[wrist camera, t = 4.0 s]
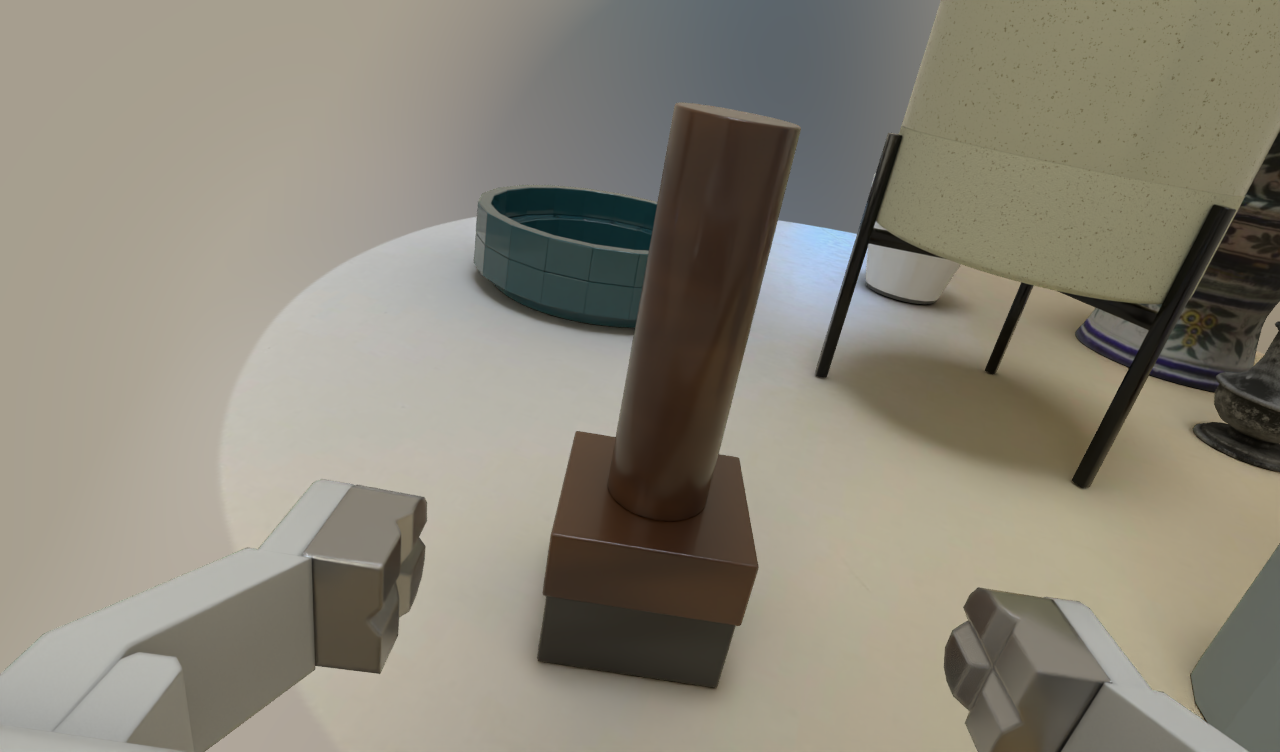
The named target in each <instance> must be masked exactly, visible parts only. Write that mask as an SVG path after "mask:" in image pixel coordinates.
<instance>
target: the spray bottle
mask: <svg viewBox="0 0 1280 752" xmlns="http://www.w3.org/2000/svg"><path fill="white" fill-rule="evenodd" d="M1191 679H1192V685H1193V691H1194V697H1195V702H1196V704H1197V706H1198V707H1199V709H1200V711H1201V712H1202V714H1203V716H1204V717H1205V719H1206V721H1207V722H1208V724H1210V725H1211V726H1213V727H1214V728H1216V729H1217V730H1219V731H1220V732H1221V733H1223V734H1224V735H1226V736H1227V737H1229V738H1230V739H1232V740H1233V741H1234V742H1236V743H1237V744H1239V745H1240V746H1242V747H1243V748H1244V749H1246V750H1247V751H1249V752H1280V544H1279V545H1278V547H1277V548H1276V550H1275V551H1274V553H1273V554H1272V556H1271V557H1270V558H1269V560H1268V561H1267V563H1266V564H1265V566H1264V567H1263V569H1262V570H1261V571H1260V573H1259V574H1258V576H1257V577H1256V579H1255V580H1254V582H1253V583H1252V584H1251V586H1250V587H1249V589H1248V590H1247V592H1246V593H1245V595H1244V596H1243V597H1242V599H1241V600H1240V602H1239V603H1238V605H1237V606H1236V608H1235V609H1234V610H1233V612H1232V613H1231V615H1230V616H1229V618H1228V619H1227V621H1226V622H1225V623H1224V625H1223V626H1222V628H1221V629H1220V631H1219V632H1218V634H1217V635H1216V636H1215V638H1214V639H1213V641H1212V642H1211V644H1210V645H1209V647H1208V648H1207V649H1206V651H1205V652H1204V654H1203V655H1202V657H1201V658H1200V660H1199V661H1198V663H1197V665H1196V666H1195V668H1194V670H1193V671H1192V673H1191Z"/></svg>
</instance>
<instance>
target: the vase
mask: <svg viewBox="0 0 1280 752" xmlns="http://www.w3.org/2000/svg"><path fill="white" fill-rule="evenodd" d="M1279 301H1280V132H1279V134H1278V135H1277V137H1276V139H1275V141H1274V143H1273V145H1272V147H1271V149H1270V151H1269V152H1268V154H1267V156H1266V158H1265V160H1264V162H1263V164H1262V166H1261V167H1260V169H1259V171H1258V173H1257V175H1256V177H1255V179H1254V181H1253V183H1252V184H1251V186H1250V188H1249V190H1248V192H1247V194H1246V196H1245V198H1244V199H1243V201H1242V203H1241V205H1240V207H1239V209H1238V211H1237V213H1236V215H1235V216H1234V218H1233V220H1232V222H1231V224H1230V226H1229V228H1228V230H1227V232H1226V233H1225V235H1224V237H1223V239H1222V241H1221V243H1220V245H1219V247H1218V249H1217V250H1216V252H1215V254H1214V256H1213V258H1212V260H1211V262H1210V264H1209V266H1208V267H1207V269H1206V271H1205V273H1204V275H1203V277H1202V279H1201V281H1200V282H1199V284H1198V286H1197V288H1196V290H1195V292H1194V294H1193V295H1192V297H1191V298H1190V299H1189V301H1188V302H1187V304H1186V306H1185V308H1184V310H1183V312H1182V314H1181V316H1180V318H1179V319H1178V321H1177V323H1176V325H1175V327H1174V329H1173V331H1172V333H1171V335H1170V336H1169V338H1168V340H1167V342H1166V344H1165V346H1164V348H1163V350H1162V352H1161V353H1160V355H1159V357H1158V359H1157V361H1156V363H1155V365H1154V367H1153V369H1152V370H1151V372H1150V374H1149V375H1152V376H1155V377H1158V378H1161V379H1164V380H1168V381H1171V382H1174V383H1178V384H1182V385H1186V386H1190V387H1194V388H1198V389H1203V390H1207V391H1212V392H1215V391H1216V389H1217V387H1218V385H1219V383H1218V382H1217V379H1216V376H1217V375H1218V374H1219V373H1223V372H1231V373H1241V372H1244V371H1248V370H1250V369H1251V368H1252V367H1253V365H1254V360H1255V354H1256V348H1257V345H1258V341H1259V337H1260V333H1261V329H1262V326H1263V324H1264V322H1265V320H1266V318H1267V316H1268V315H1269V313H1270V312H1271V311H1272V310H1273V308H1274V307H1275V305H1277V304H1278V302H1279ZM1138 304H1139V303H1138ZM1140 305H1143V306H1145V307H1148V308H1150V309H1153V310H1155V311H1159V309H1160V307H1161V305H1162V304H1140ZM1148 331H1149V330H1147V329H1144V328H1142V327H1140V326H1137V325H1135V324H1133V323H1130V322H1128V321H1126V320H1123V319H1121V318H1119V317H1116V316H1114V315H1112V314H1109V313H1107V312H1105V311H1102V310H1100V309H1098V308H1095V310H1094V311H1093V312H1092V313H1091V315H1090V316H1089V317H1088V318H1087V320H1086V321H1085V322H1084V323H1083V324H1082V325H1081V326H1080V327H1079V328H1078V330H1077V331H1076V332H1075V335H1076V337H1077V338H1078V339H1079V341H1080V342H1082V343H1083V344H1084V345H1086V346H1087V347H1089V348H1091V349H1092V350H1094V351H1096V352H1098V353H1100V354H1102V355H1103V356H1105V357H1108V358H1110V359H1112V360H1114V361H1116V362H1118V363H1121V364H1123V365H1125V366H1128V367H1130V366H1131V364H1132V362H1133V360H1134V358H1135V356H1136V354H1137V352H1138V350H1139V348H1140V346H1141V344H1142V342H1143V340H1144V339H1145V337H1146V335H1147V333H1148Z"/></svg>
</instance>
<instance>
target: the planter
mask: <svg viewBox="0 0 1280 752" xmlns="http://www.w3.org/2000/svg"><path fill="white" fill-rule="evenodd" d="M1279 132H1280V0H941V1H940V5H939V8H938V11H937V14H936V18H935V21H934V24H933V27H932V31H931V34H930V37H929V40H928V43H927V47H926V49H925V53H924V56H923V59H922V62H921V65H920V69H919V72H918V75H917V78H916V82H915V85H914V88H913V91H912V94H911V97H910V101H909V104H908V107H907V110H906V114H905V117H904V120H903V123H902V126H901V129H900V133H899V134H892V133H888V135H887V139H886V142H885V145H884V148H883V151H882V155H881V158H880V162H879V165H878V168H877V171H876V174H875V178H874V181H873V184H872V187H871V191H870V194H869V197H868V201H867V204H866V207H865V211H864V214H863V217H862V220H861V223H860V227H859V230H858V233H857V237H856V240H855V243H854V246H853V250H852V253H851V256H850V259H849V263H848V266H847V269H846V272H845V276H844V279H843V282H842V286H841V289H840V292H839V295H838V299H837V302H836V305H835V308H834V312H833V315H832V318H831V322H830V325H829V328H828V331H827V335H826V338H825V341H824V344H823V348H822V351H821V354H820V358H819V361H818V364H817V367H816V371H815V373H816V376H820V377H827V375H828V372H829V368H830V365H831V362H832V359H833V356H834V352H835V349H836V346H837V343H838V340H839V337H840V333H841V330H842V327H843V324H844V321H845V318H846V314H847V311H848V308H849V305H850V302H851V298H852V295H853V292H854V289H855V286H856V283H857V279H858V276H859V273H860V270H861V267H862V263H863V260H864V257H865V254H866V251H867V248H868V244H873V245H878V246H883V247H888V248H893V249H898V250H903V251H908V252H913V253H918V254H923V255H928V256H933V257H938V258H943V259H948V260H950V261H953V262H956V263H959V264H962V265H965V266H968V267H971V268H974V269H977V270H980V271H984V272H987V273H990V274H994V275H997V276H1000V277H1004V278H1007V279H1011V280H1015V281H1019V282H1021V285H1020V287H1019V289H1018V292H1017V294H1016V297H1015V299H1014V301H1013V304H1012V306H1011V309H1010V311H1009V313H1008V316H1007V318H1006V321H1005V323H1004V325H1003V328H1002V330H1001V332H1000V335H999V337H998V340H997V342H996V344H995V347H994V349H993V352H992V354H991V356H990V359H989V361H988V364H987V366H986V368H985V371H987V372H989V373H992V374H995V373H996V372H997V370H998V368H999V365H1000V363H1001V361H1002V358H1003V356H1004V354H1005V351H1006V349H1007V347H1008V344H1009V342H1010V340H1011V337H1012V335H1013V332H1014V330H1015V328H1016V325H1017V323H1018V321H1019V318H1020V316H1021V314H1022V311H1023V309H1024V307H1025V304H1026V302H1027V300H1028V297H1029V295H1030V293H1031V290H1032V288H1033V286H1038V287H1043V288H1047V289H1051V290H1056V291H1058V292H1060V293H1063V294H1065V295H1067V296H1070V297H1072V298H1074V299H1077V300H1079V301H1081V302H1084V303H1086V304H1088V305H1091V306H1093V307H1095V308H1098V309H1100V310H1102V311H1105V312H1107V313H1109V314H1112V315H1114V316H1116V317H1119V318H1121V319H1123V320H1126V321H1128V322H1130V323H1133V324H1135V325H1137V326H1140V327H1142V328H1144V329H1147V330H1149V331H1148V333H1147V335H1146V337H1145V339H1144V340H1143V342H1142V344H1141V346H1140V348H1139V350H1138V352H1137V354H1136V356H1135V358H1134V360H1133V362H1132V364H1131V366H1130V368H1129V370H1128V372H1127V374H1126V375H1125V377H1124V379H1123V381H1122V383H1121V385H1120V387H1119V389H1118V391H1117V393H1116V395H1115V397H1114V399H1113V401H1112V403H1111V405H1110V407H1109V409H1108V410H1107V412H1106V414H1105V416H1104V418H1103V420H1102V422H1101V424H1100V426H1099V428H1098V430H1097V432H1096V434H1095V436H1094V438H1093V440H1092V442H1091V444H1090V445H1089V447H1088V449H1087V451H1086V453H1085V455H1084V457H1083V459H1082V461H1081V463H1080V465H1079V467H1078V469H1077V471H1076V473H1075V475H1074V477H1073V478H1072V481H1073V482H1074V483H1076V484H1077V485H1078V486H1080V487H1081V488H1086V487H1090V485H1091V484H1092V482H1093V480H1094V478H1095V476H1096V474H1097V472H1098V470H1099V468H1100V467H1101V465H1102V463H1103V461H1104V459H1105V457H1106V455H1107V453H1108V452H1109V450H1110V448H1111V446H1112V444H1113V442H1114V440H1115V438H1116V436H1117V435H1118V433H1119V431H1120V429H1121V427H1122V425H1123V423H1124V421H1125V419H1126V418H1127V416H1128V414H1129V412H1130V410H1131V408H1132V406H1133V404H1134V402H1135V401H1136V399H1137V397H1138V395H1139V393H1140V391H1141V389H1142V387H1143V385H1144V384H1145V382H1146V380H1147V378H1148V376H1149V374H1150V372H1151V370H1152V369H1153V367H1154V365H1155V363H1156V361H1157V359H1158V357H1159V355H1160V353H1161V352H1162V350H1163V348H1164V346H1165V344H1166V342H1167V340H1168V338H1169V336H1170V335H1171V333H1172V331H1173V329H1174V327H1175V325H1176V323H1177V321H1178V319H1179V318H1180V316H1181V314H1182V312H1183V310H1184V308H1185V306H1186V304H1187V302H1188V301H1189V299H1190V298H1191V297H1192V295H1193V294H1194V292H1195V290H1196V288H1197V286H1198V284H1199V282H1200V281H1201V279H1202V277H1203V275H1204V273H1205V271H1206V269H1207V267H1208V266H1209V264H1210V262H1211V260H1212V258H1213V256H1214V254H1215V252H1216V250H1217V249H1218V247H1219V245H1220V243H1221V241H1222V239H1223V237H1224V235H1225V233H1226V232H1227V230H1228V228H1229V226H1230V224H1231V222H1232V220H1233V218H1234V216H1235V215H1236V213H1237V211H1238V209H1239V207H1240V205H1241V203H1242V201H1243V199H1244V198H1245V196H1246V194H1247V192H1248V190H1249V188H1250V186H1251V184H1252V183H1253V181H1254V179H1255V177H1256V175H1257V173H1258V171H1259V169H1260V167H1261V166H1262V164H1263V162H1264V160H1265V158H1266V156H1267V154H1268V152H1269V151H1270V149H1271V147H1272V145H1273V143H1274V141H1275V139H1276V137H1277V135H1278V134H1279ZM875 222H877V223H878V224H879V225H880V226H882V227H883V228H884V229H886V230H883V229H877V228H874V225H875ZM1138 303H1139V304H1138ZM1140 304H1162V305H1161V307H1160V309H1159V311H1155V310H1153V309H1150V308H1148V307H1145V306H1143V305H1140Z"/></svg>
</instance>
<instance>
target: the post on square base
mask: <svg viewBox="0 0 1280 752" xmlns="http://www.w3.org/2000/svg"><path fill="white" fill-rule="evenodd" d="M800 130H801V128H800V127H799V126H798V125H796V124H793V123H790V122H786V121H782V120H779V119H774V118H770V117H766V116H761V115H756V114H752V113H747V112H742V111H736V110H731V109H726V108H720V107H714V106H707V105H700V104H693V103H676V104H675V107H674V113H673V118H672V124H671V129H670V135H669V141H668V146H667V152H666V157H665V163H664V169H663V174H662V180H661V185H660V191H659V197H658V202H657V208H656V213H655V219H654V225H653V230H652V236H651V242H650V247H649V253H648V258H647V264H646V270H645V275H644V281H643V286H642V292H641V298H640V303H639V309H638V314H637V320H636V326H635V331H634V337H633V343H632V348H631V354H630V359H629V365H628V371H627V376H626V382H625V387H624V393H623V399H622V404H621V410H620V415H619V421H618V427H617V432H616V437H610V436H604V435H598V434H592V433H586V432H580V431H576V433H575V436H574V440H573V445H572V449H571V453H570V457H569V461H568V465H567V470H566V474H565V478H564V482H563V486H562V490H561V495H560V499H559V503H558V507H557V511H556V515H555V520H554V524H553V528H552V532H551V537H550V544H549V551H548V558H547V565H546V572H545V579H544V586H543V595H544V596H546V601H545V608H544V615H543V622H542V629H541V636H540V643H539V649H538V656H537V659H538V661H542V662H549V663H555V664H562V665H569V666H575V667H582V668H588V669H595V670H602V671H608V672H615V673H621V674H628V675H635V676H641V677H648V678H654V679H661V680H668V681H674V682H681V683H687V684H694V685H701V686H707V687H714V688H715V687H717V686H718V682H719V679H720V676H721V673H722V669H723V666H724V663H725V659H726V656H727V653H728V649H729V646H730V643H731V639H732V636H733V633H734V629H735V626H740V625H741V623H742V620H743V617H744V614H745V610H746V607H747V604H748V601H749V597H750V594H751V591H752V587H753V584H754V581H755V578H756V574H757V571H758V562H757V556H756V551H755V545H754V539H753V534H752V528H751V523H750V517H749V511H748V506H747V500H746V495H745V489H744V483H743V478H742V472H741V466H740V461H739V458H738V457H732V456H726V455H720V454H719V450H720V446H721V442H722V439H723V435H724V431H725V427H726V423H727V419H728V415H729V411H730V407H731V403H732V399H733V395H734V391H735V387H736V383H737V379H738V375H739V371H740V367H741V363H742V360H743V356H744V352H745V348H746V344H747V340H748V336H749V332H750V328H751V324H752V320H753V316H754V312H755V308H756V304H757V300H758V296H759V292H760V288H761V284H762V281H763V277H764V273H765V269H766V265H767V261H768V257H769V253H770V249H771V245H772V241H773V237H774V233H775V229H776V225H777V221H778V217H779V213H780V209H781V205H782V201H783V198H784V194H785V190H786V185H787V182H788V178H789V174H790V170H791V165H792V162H793V158H794V154H795V150H796V146H797V142H798V138H799V134H800Z"/></svg>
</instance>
